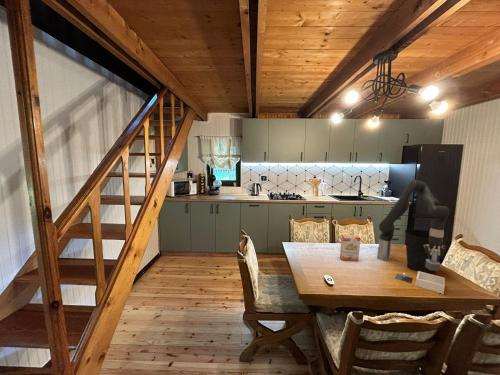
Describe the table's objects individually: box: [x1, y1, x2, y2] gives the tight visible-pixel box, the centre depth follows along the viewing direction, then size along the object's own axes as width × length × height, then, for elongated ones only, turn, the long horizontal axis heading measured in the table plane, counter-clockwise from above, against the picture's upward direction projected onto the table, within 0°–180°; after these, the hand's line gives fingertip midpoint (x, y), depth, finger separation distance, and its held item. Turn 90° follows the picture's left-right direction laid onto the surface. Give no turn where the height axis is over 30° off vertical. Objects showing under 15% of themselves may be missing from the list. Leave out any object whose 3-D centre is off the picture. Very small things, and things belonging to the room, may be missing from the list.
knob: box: [425, 249, 441, 272], centre depth 163 cm, size 6×6×14 cm
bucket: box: [404, 227, 448, 275], centre depth 190 cm, size 27×28×30 cm
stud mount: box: [394, 272, 414, 284], centre depth 174 cm, size 10×10×5 cm
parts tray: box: [415, 271, 446, 295], centre depth 165 cm, size 15×15×6 cm
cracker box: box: [339, 234, 361, 262], centre depth 205 cm, size 14×6×21 cm, turn 84°
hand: (433, 259), depth 163 cm, fingers closed on knob, 3 cm apart
